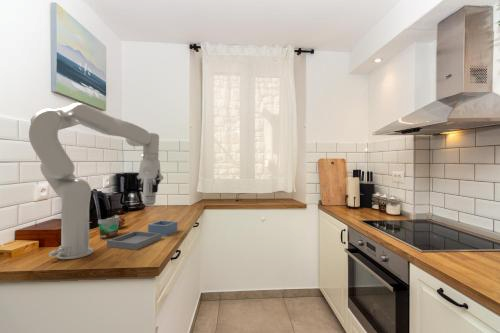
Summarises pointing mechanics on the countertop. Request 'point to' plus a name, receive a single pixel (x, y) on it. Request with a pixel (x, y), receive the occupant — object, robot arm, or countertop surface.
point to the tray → (134, 240)
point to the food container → (108, 227)
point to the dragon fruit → (120, 221)
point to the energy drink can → (148, 192)
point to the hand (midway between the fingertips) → (149, 191)
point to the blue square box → (163, 227)
